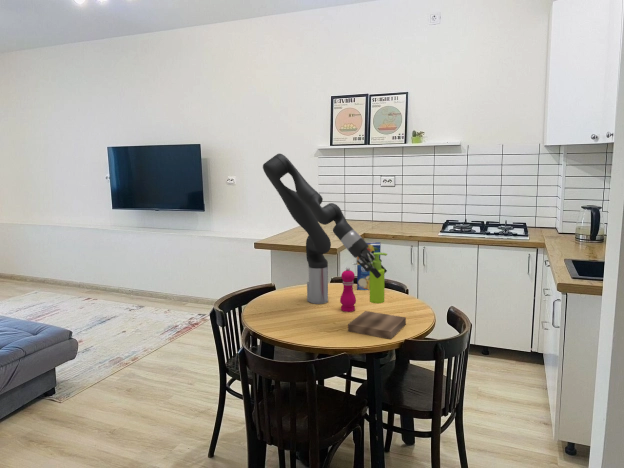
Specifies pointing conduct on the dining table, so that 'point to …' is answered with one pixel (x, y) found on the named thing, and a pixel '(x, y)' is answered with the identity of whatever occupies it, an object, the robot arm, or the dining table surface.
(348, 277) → the pepper mill
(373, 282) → the soap dispenser
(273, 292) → the dining table surface
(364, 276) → the juice carton
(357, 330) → the walnut board
